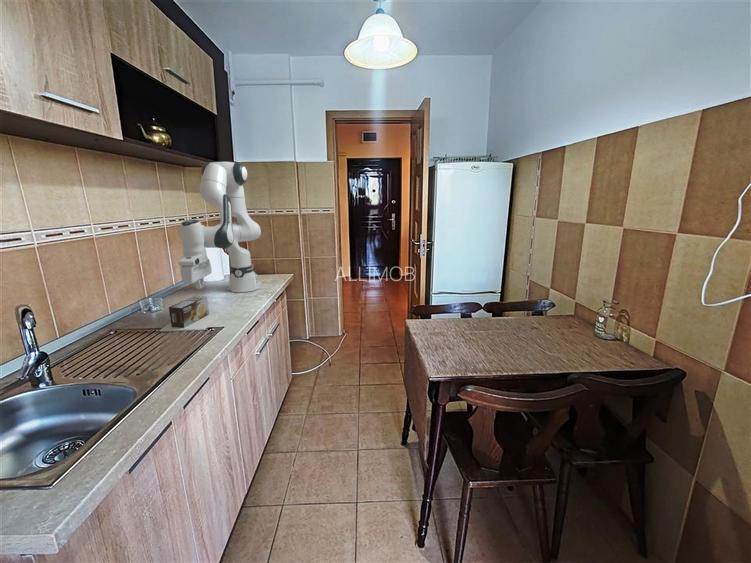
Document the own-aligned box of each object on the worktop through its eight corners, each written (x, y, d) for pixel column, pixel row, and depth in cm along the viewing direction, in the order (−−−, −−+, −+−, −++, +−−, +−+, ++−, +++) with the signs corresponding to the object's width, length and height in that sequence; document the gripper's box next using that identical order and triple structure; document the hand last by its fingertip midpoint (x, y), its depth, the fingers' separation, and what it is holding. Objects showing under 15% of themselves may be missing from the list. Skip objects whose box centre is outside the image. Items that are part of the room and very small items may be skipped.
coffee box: (194, 295, 154) (167, 306, 138) (207, 296, 152) (181, 307, 137) (197, 314, 156) (171, 327, 141) (209, 315, 155) (184, 328, 139)
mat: (180, 317, 153) (179, 316, 153) (220, 316, 154) (219, 315, 154) (159, 331, 138) (159, 330, 138) (204, 330, 138) (204, 329, 138)
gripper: (199, 253, 156) (203, 282, 160) (176, 262, 137) (181, 295, 140) (213, 253, 157) (216, 282, 160) (191, 262, 137) (196, 294, 140)
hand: (200, 288), depth 150 cm, fingers closed
